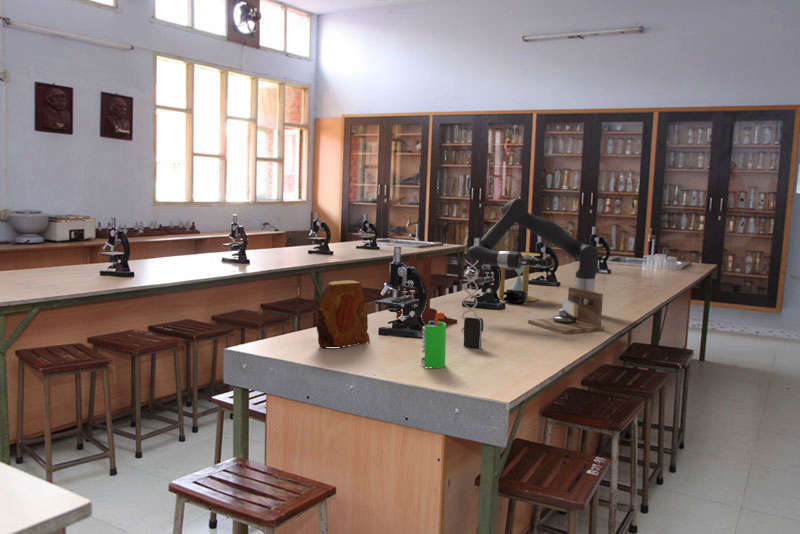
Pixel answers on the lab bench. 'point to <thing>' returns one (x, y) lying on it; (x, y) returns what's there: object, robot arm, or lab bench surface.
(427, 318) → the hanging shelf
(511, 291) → the end cap
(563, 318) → the cam foot
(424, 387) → the lab bench surface
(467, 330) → the battery charger
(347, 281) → the fossil rock
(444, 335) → the green-shelled ribbed roller
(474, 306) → the dna model
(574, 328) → the levelling base
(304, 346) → the lab bench surface
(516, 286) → the hourglass
